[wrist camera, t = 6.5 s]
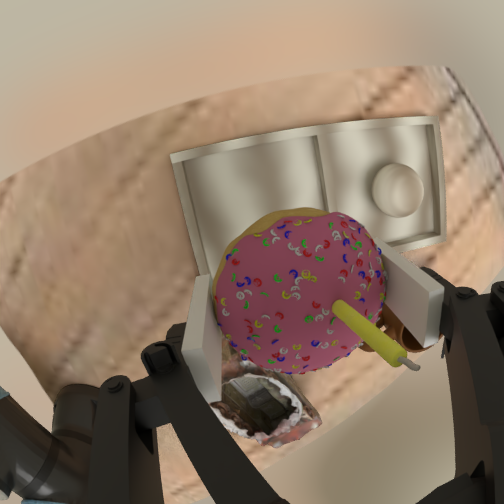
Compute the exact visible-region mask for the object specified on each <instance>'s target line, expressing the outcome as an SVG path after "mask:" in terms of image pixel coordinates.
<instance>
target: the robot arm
mask: <svg viewBox="0 0 504 504" xmlns="http://www.w3.org/2000/svg"><path fill="white" fill-rule="evenodd" d="M373 241H374V242H375V244H377V246H378V248H380V249H381V251H382V253H381V255H380V256H381V259H382V262H383V265H384V271H386V272H387V280H386V281H385V282H386V285H385V286H386V299H385V301H384V302H385V304H386V305H387V306H388V307H389V308H390V309H391V310H392V312H393V313H394V314H395V315H396V316H397V317H398V318H399V320H400V321H401V322H402V323H403V324H404V325H405V326H406V328H407V329H408V330H409V331H410V332H411V333H412V335H413V336H414V337H415V338H416V339H417V341H418V342H419V343H420V344H421V345H422V346H423V348H425V347H428V346H431V345H433V344H436V343H438V339H439V332H441V333H442V334H443V335H444V336H445V337H444V343H443V350H442V355H441V358H443V357H444V354H445V357H446V363H447V370H448V376H449V384H450V392H451V401H452V410H453V422H454V437H455V463H456V471H455V477H454V479H453V480H451V481H449V482H447V483H445V484H443V485H441V486H439V487H437V488H436V489H435V490H434V491H432V492H431V493H430V494H428V495H427V496H426V497H424V498H423V499H422V500H420V501H419V502H418V503H416V504H504V281H501V282H496V283H494V284H493V285H492V287H491V293H489V294H481V295H478V293H477V292H476V291H475V290H474V289H472V288H469V287H455V286H454V285H452V284H451V283H450V282H448V281H447V280H446V279H444V278H443V277H442V276H440V275H438V274H437V273H436V272H435V271H433V270H432V269H429V268H426V267H420V268H419V267H417V266H416V265H415V264H413V263H412V262H411V261H409V260H408V259H407V258H405V257H404V256H403V255H401V254H400V253H398V252H397V251H396V250H394V249H393V248H391V247H390V246H389V245H387V244H386V243H384V242H383V241H382V240H380V239H379V238H373ZM379 251H380V250H379ZM379 253H380V252H379ZM385 279H386V278H385ZM212 284H213V283H212V280H211V276H210V274H206V275H202V276H197V277H196V280H195V284H194V289H193V294H192V299H191V303H190V308H189V313H188V318H187V322H185V323H180V324H174V325H173V326H172V327H171V328H170V329H169V330H168V332H167V335H166V340H165V341H159V342H155V343H153V344H151V345H149V346H147V347H146V348H145V349H144V350H143V351H142V353H141V360H142V362H143V364H144V366H145V368H146V370H147V372H148V374H149V376H148V377H145V378H143V379H140V380H138V381H135V382H132V383H131V381H130V379H129V378H128V377H127V376H123V375H118V376H114V377H111V378H109V379H107V380H106V381H105V382H104V383H103V384H102V385H101V387H100V389H98V388H95V387H92V386H87V385H69V386H66V387H64V388H63V389H62V390H61V391H60V392H59V394H58V396H57V398H56V400H55V402H54V408H53V409H54V415H53V422H52V432H51V433H50V432H49V431H48V430H47V429H45V428H44V427H43V426H42V425H41V424H39V423H38V422H37V421H36V420H35V419H34V418H33V417H32V416H30V415H29V414H28V413H27V412H26V411H25V410H24V409H23V408H22V407H21V406H20V405H19V404H18V403H17V402H16V401H15V400H14V399H13V398H12V397H11V396H10V393H9V392H6V391H5V390H4V389H3V388H2V387H1V386H0V500H7V499H8V498H9V496H10V493H11V491H13V492H15V493H16V494H18V495H19V496H20V497H22V498H23V500H22V501H21V504H164V498H163V490H162V482H161V474H160V464H159V454H158V443H157V431H156V427H159V426H162V425H165V424H168V423H171V424H172V426H173V428H174V430H175V432H176V434H177V436H178V438H179V440H180V442H181V444H182V446H183V448H184V450H185V451H186V453H187V455H188V457H189V459H190V461H191V462H192V464H193V466H194V468H195V470H196V471H197V473H198V475H199V477H200V478H201V480H202V482H203V483H204V485H205V487H206V488H207V490H208V492H209V493H210V495H211V497H212V498H213V500H214V501H215V503H216V504H290V503H289V502H288V501H286V500H285V499H282V498H281V497H279V495H278V494H277V493H276V492H275V491H274V490H273V489H272V487H271V486H270V485H269V484H268V483H267V481H266V480H265V479H264V478H263V477H262V475H261V474H260V473H259V472H258V470H257V469H256V468H255V467H254V465H253V464H252V463H251V461H250V460H249V459H248V458H247V456H246V455H245V454H244V452H243V451H242V450H241V449H240V447H239V446H238V445H237V443H236V442H235V441H234V439H233V438H232V437H231V435H230V434H229V432H228V431H227V430H226V428H225V427H224V426H223V424H222V423H221V421H220V420H219V419H218V417H217V416H216V414H215V413H214V411H213V410H212V409H211V407H210V406H209V404H208V403H209V402H216V401H221V364H222V331H221V329H220V327H219V325H217V320H216V317H215V312H214V304H213V296H212Z"/></svg>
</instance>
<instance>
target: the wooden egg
mask: <svg viewBox="0 0 504 504" xmlns="http://www.w3.org/2000/svg"><path fill="white" fill-rule="evenodd" d="M372 196H373V200H374V202H375V204H376V205H377V207H378V208H379V209H380V210H381V211H382V212H383V213H385V214H386V215H388V216H391V217H395V218H402V217H407V216H409V215H411V214H413V213H414V212H415V211H416V210H417V209H418V208H419V206H420V205H421V203H422V200H423V196H424V188H423V183H422V181H421V179H420V177H419V175H418V174H417V173H416V172H415V171H414V170H413V169H412V168H410V167H409V166H407V165H404V164H399V163H393V164H389V165H386V166H384V167H383V168H382V169H380V170H379V171H378V172H377V174H376V175H375V177H374V179H373V182H372Z"/></svg>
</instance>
